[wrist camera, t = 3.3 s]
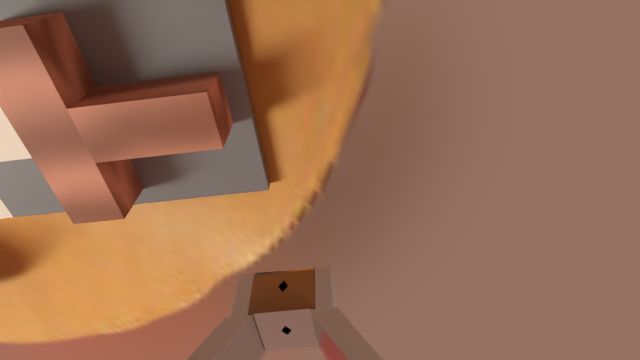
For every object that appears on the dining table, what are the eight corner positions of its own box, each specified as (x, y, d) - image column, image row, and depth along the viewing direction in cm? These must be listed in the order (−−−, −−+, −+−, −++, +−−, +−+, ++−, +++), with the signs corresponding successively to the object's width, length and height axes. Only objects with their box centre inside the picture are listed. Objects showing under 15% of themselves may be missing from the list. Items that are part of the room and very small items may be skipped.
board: (-242, 25, 25) (-261, 28, 24) (219, -38, 24) (215, -37, 23) (-68, 219, 34) (-77, 226, 34) (269, 183, 33) (268, 189, 32)
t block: (3, 20, 24) (-46, 33, 21) (199, -6, 24) (180, 4, 20) (98, 193, 32) (73, 224, 29) (247, 177, 31) (240, 206, 28)
